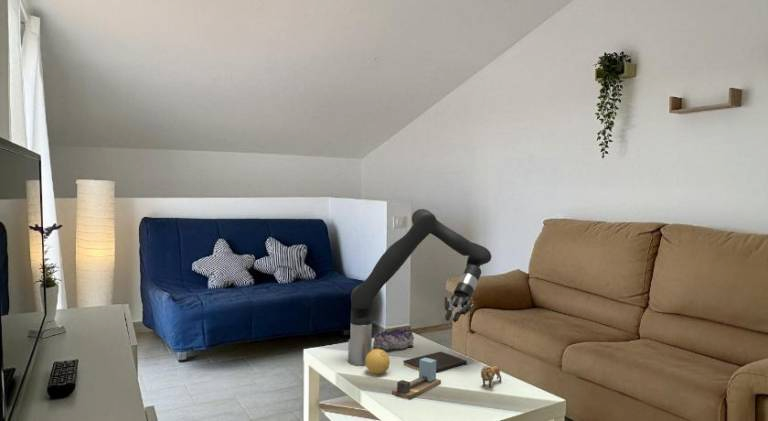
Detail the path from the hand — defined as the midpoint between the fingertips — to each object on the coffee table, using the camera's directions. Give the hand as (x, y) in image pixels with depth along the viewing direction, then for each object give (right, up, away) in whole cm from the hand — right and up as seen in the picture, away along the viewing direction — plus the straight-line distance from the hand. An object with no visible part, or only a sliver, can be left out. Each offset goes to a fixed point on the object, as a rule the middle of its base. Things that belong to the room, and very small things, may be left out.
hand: (450, 320), depth 227 cm
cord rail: (-15, -23, -17) cm, 32 cm away
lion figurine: (+14, -23, -12) cm, 30 cm away
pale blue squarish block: (-10, -20, -12) cm, 26 cm away
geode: (-23, -20, +35) cm, 46 cm away
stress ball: (-30, -22, -1) cm, 37 cm away
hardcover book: (-5, -22, +11) cm, 25 cm away
